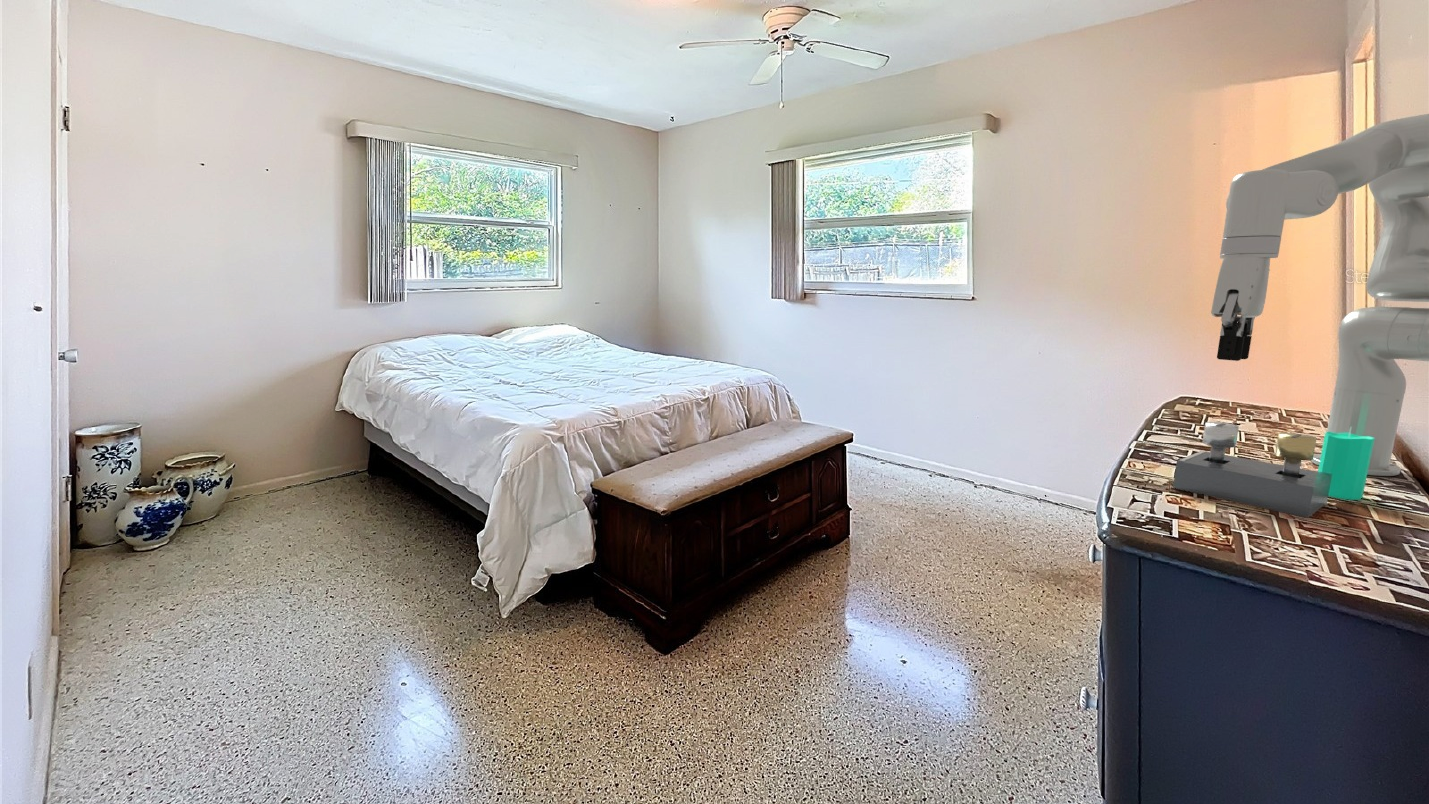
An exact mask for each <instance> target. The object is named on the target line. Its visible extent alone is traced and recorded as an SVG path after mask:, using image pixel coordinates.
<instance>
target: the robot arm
mask: <svg viewBox="0 0 1429 804" xmlns="http://www.w3.org/2000/svg"><path fill="white" fill-rule="evenodd" d="M1367 184H1368V187H1369V190H1370V192H1371V195H1372V196H1373V199H1374V200H1375V202H1376V205H1377V207H1378V209H1379V211H1380V214H1381V217H1382V225H1383V226H1382V231H1381V235H1380V238H1379V242H1378V244H1377V246H1376V247H1377V248H1376V251H1375V253H1374V256H1373V259H1372V263H1371V266H1370V268H1369V272H1368V274H1367V278H1366V284H1365V285H1366V292H1367V294H1368V296H1370V297H1371V298H1374V299H1377V300H1382V301H1388V302H1390V301H1391V302H1393V301H1394V302H1414V303H1415V302H1417V303H1419V302H1420V303H1422V302H1423V303H1429V113H1424V114H1419V115H1414V116H1409V117H1408V116H1407V117H1402V118H1396V119H1391V120H1388V121H1383V122H1380V123H1378V124H1375V125H1372V126H1370V127H1369V128H1366V129H1364V130H1362V131H1361V132H1358V133H1356V134H1355V135H1352V136H1351V137H1348V138H1346V139H1344V140H1342V141H1340V142H1339V143H1337V144H1334V145H1331V146H1329V147H1325V148H1321V149H1318V150H1315V151H1312V152H1309V153H1307V154H1304V155H1301V156H1298V157H1294V158H1292V159H1289V160H1286V161H1282V162H1280V163H1277V164H1273V165H1270V166H1268V167H1265V168H1262V169H1259V170H1258V169H1257V170H1251V171H1244V172H1241V173H1238V174H1237V175H1236V176H1234V177H1233V178H1232V181H1231V183H1230V187H1229V193H1228V196H1227V199H1226V202H1225V203H1226V204H1225V205H1226V211H1225V212H1226V214H1225V219H1224V220H1225V221H1224V228H1223V234H1222V239H1221V246H1220V253H1219V259H1222V262H1221V265H1220V269H1219V273H1218V276H1217V280H1216V284H1215V289H1214V295H1213V300H1212V305H1211V310H1210V313H1211V315H1212V316H1213V317H1214V318H1221V319H1220V320H1221V321H1220V322H1221V327H1220V333H1219V335H1220V336H1219V341H1218V347H1217V355H1216V359H1217V360H1222V361H1223V360H1224V361H1235V362H1238V361H1241V360H1247V359H1248V358H1249V356H1250V355H1249V354H1250V348H1251V344H1252V343H1251V342H1252V334H1253V330H1254V321H1255V318H1257V317H1259V316H1261V315H1262V314H1263V311H1264V308H1265V303H1266V299H1267V291H1268V286H1269V285H1268V284H1269V275H1270V271H1271V270H1270V267H1271V259H1276V258H1279V254H1280V247H1281V243H1282V242H1281V241H1282V235H1283V229H1284V222H1285V221H1287V220H1294V219H1296V220H1297V219H1306V218H1311V217H1312V218H1313V217H1315V216H1318V215H1320V214H1323V213H1325V212H1327V210H1329V209H1330V208H1332V206H1333V205H1334V204H1335V202H1336V200H1337V199H1338V196H1339V195H1340V194H1343V193H1349V192H1353V191H1355V190H1357V189H1359V188H1362V187H1364V186H1365V185H1367ZM1337 335H1338V337H1337V339H1338V352H1339V353H1338V354H1339V355H1338V356H1339V357H1338V358H1339V359H1338V367H1337V368H1338V369H1337V373H1336V374H1337V375H1336V381H1335V387H1334V393H1333V397H1332V402H1331V408H1330V414H1329V418H1328V423H1327V429H1326V432H1333V433H1349V432H1350V427H1352V428H1351V434H1354V435H1357V436H1369V437H1373V438H1374V443H1373V448H1372V453H1371V458H1370V463H1369V468H1368V473H1367V476H1374V477H1375V476H1377V477H1394V476H1398V475H1400V474H1401V467H1400V466H1398V465H1396V464H1393V463H1391V459H1392V455H1393V449H1394V446H1395V441H1396V435H1397V430H1398V427H1399V421H1400V416H1401V412H1402V411H1401V410H1402V407H1403V402H1404V397H1405V394H1406V388H1407V379H1406V376H1405V374H1404V372H1403V370H1402V369H1401V368H1400V366H1399V365H1398V363H1397V362H1396V360H1407V361H1416V362H1417V361H1419V362H1429V307H1428V308H1427V307H1409V306H1408V307H1407V306H1405V307H1404V306H1403V307H1402V306H1370V307H1362V308H1359V309H1355V310H1353V311H1351V312H1349V313H1348V314H1346V315H1345V316H1344V317H1343V319H1342V320H1341V322H1340V323H1339V326H1338V334H1337ZM1320 458H1321V453H1314V456H1313V460H1310V462H1311V463H1313V464H1314V465H1317V466H1319V463H1320Z"/></svg>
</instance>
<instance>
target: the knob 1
mask: <svg viewBox="0 0 1429 804" xmlns="http://www.w3.org/2000/svg"><path fill="white" fill-rule="evenodd" d="M1239 429H1240V426H1239V425H1237V424H1233V423H1227V422H1220V421H1219V422H1218V421H1206V422H1205V424H1204V431H1203V437H1202V444H1205V445H1207V446H1210V451H1209V452H1210V458H1209V461H1210V462H1215V463H1221V464H1223V462H1224V455H1226V449H1227V448H1228V449H1229V448H1235V447H1236V445H1237V439H1238V434H1239Z"/></svg>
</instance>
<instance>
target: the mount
mask: <svg viewBox="0 0 1429 804" xmlns="http://www.w3.org/2000/svg"><path fill="white" fill-rule="evenodd" d="M1209 458H1210V451H1204V450H1200V451H1197V452H1195V453H1192V454H1191V455H1188V456H1186V457H1183V458H1180V459H1179V460H1176V463H1175V464H1176V465H1175V473H1174V478H1173V485H1172V486H1173V487H1172V489H1175V488H1176V489H1175V490H1179V489H1180V490H1179V491H1184V490H1185V492H1188V491H1190V492H1189V493H1193V492H1194V494H1196V495H1197V494H1198V495H1202V494H1204V495H1203V496H1206V495H1207V497H1211V498H1216V499H1220V500H1225V501H1229V502H1234V503H1239V504H1243V505H1247V506H1252V507H1256V508H1262V509H1265V510H1270V511H1274V512H1279V513H1282V514H1287V515H1292V516H1296V517H1302V518H1304V519H1305V518H1306V519H1309V518H1310V517H1311V516H1312V515H1314V514H1315V513H1316V512H1318V511H1319V510H1320V509H1321V508H1322V507H1324V506H1325V505H1326V504H1327V503H1328V499H1329V496H1328V494H1329V489H1330V484H1331V478H1332V474H1329V473H1324V472H1318V471H1317V470H1311V469H1305V468H1301V467H1300V471H1299V476H1298V478H1296V477H1290V476H1285V475H1282V472H1283V467H1284V464H1278V463H1277V464H1276V463H1272V462H1267V461H1262V460H1261V461H1260V460H1255V459H1250V458H1249V459H1248V458H1245V457H1244V458H1243V457H1239V456H1234V455H1226V454H1225V455H1224V462H1223V464H1221V463H1215V462H1210V461H1209Z"/></svg>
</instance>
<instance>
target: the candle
mask: <svg viewBox="0 0 1429 804" xmlns="http://www.w3.org/2000/svg"><path fill="white" fill-rule="evenodd" d="M1351 428H1352V427H1350V432H1349V433H1333V432H1327V431H1326V432H1325V433H1324V437H1323V443H1322V447H1321V448H1322V449H1321V452H1320V454H1321V458H1320V463H1319V465H1318V472H1324V473H1329V474H1332V478H1331V484H1330V489H1329V494H1328V497H1331V498H1336V499H1341V500H1351V501H1354V500H1355V501H1357V500H1359V501H1360V500H1361V498H1362V499H1363V497H1364V492H1365V487H1366V482H1367V477H1368V475H1367V473H1368V468H1369V463H1370V458H1371V453H1372V448H1373V443H1374V438H1373V437H1369V436H1357V435H1354V434H1351Z"/></svg>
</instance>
